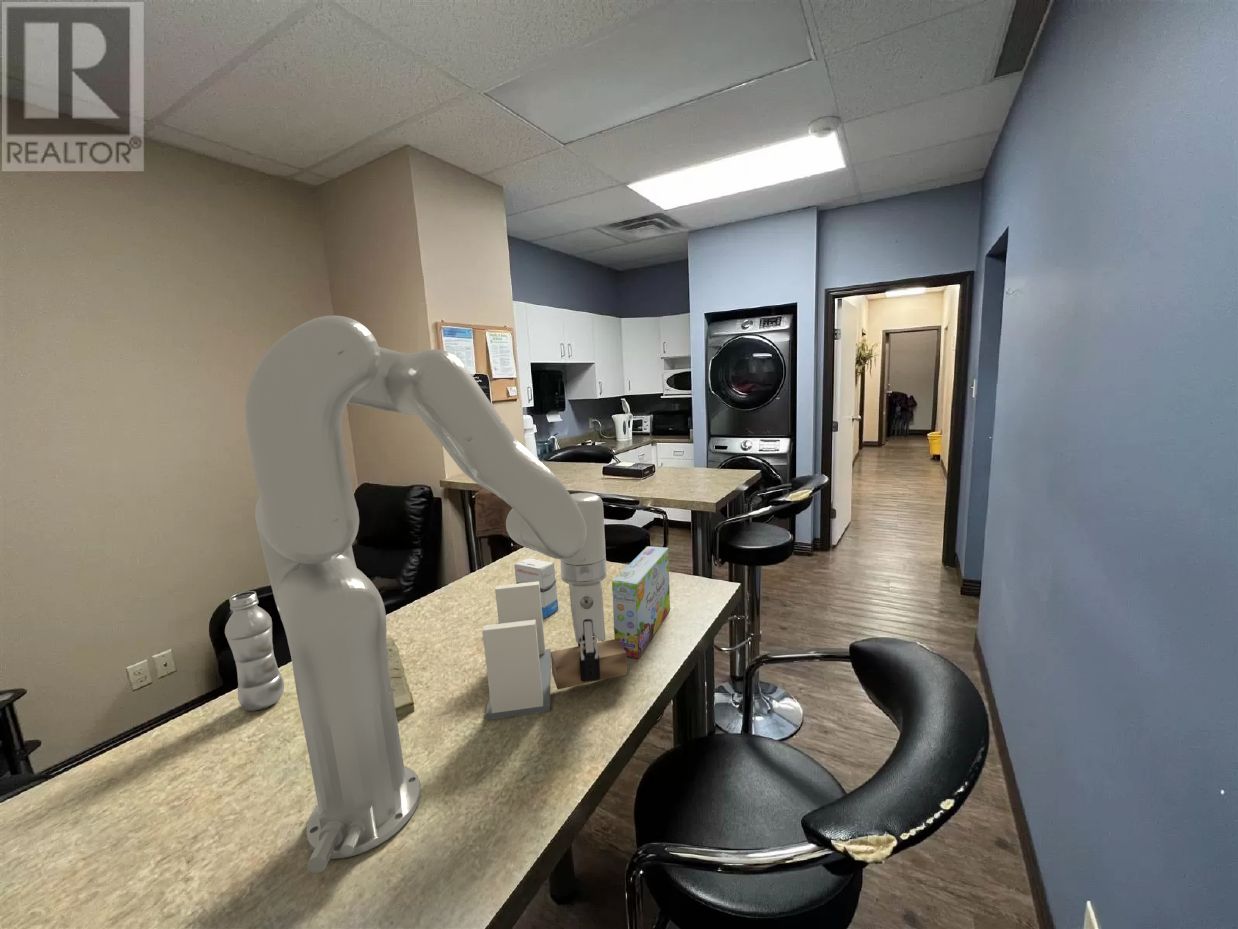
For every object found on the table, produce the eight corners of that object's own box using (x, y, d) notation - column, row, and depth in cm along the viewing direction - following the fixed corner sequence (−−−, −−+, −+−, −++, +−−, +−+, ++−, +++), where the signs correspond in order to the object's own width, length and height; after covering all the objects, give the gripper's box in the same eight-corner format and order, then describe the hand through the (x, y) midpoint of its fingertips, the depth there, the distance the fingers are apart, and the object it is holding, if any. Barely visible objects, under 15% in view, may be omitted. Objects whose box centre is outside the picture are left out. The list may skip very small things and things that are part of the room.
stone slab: (389, 625, 103) (418, 688, 79) (392, 643, 104) (421, 711, 79) (323, 644, 97) (330, 719, 72) (326, 663, 97) (334, 744, 72)
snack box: (641, 660, 89) (637, 583, 87) (614, 655, 91) (608, 581, 89) (672, 609, 109) (669, 545, 106) (648, 606, 111) (645, 544, 108)
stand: (549, 711, 77) (541, 623, 74) (486, 720, 75) (475, 631, 73) (551, 653, 93) (544, 580, 91) (498, 660, 92) (490, 586, 90)
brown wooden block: (618, 659, 86) (617, 638, 86) (627, 674, 82) (626, 652, 81) (552, 673, 83) (550, 651, 82) (557, 689, 78) (556, 667, 77)
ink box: (559, 609, 112) (555, 561, 110) (545, 619, 108) (540, 569, 106) (532, 603, 117) (527, 556, 115) (517, 611, 112) (513, 563, 111)
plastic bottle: (282, 687, 88) (262, 584, 85) (290, 703, 83) (269, 594, 80) (238, 705, 83) (215, 596, 80) (243, 722, 79) (220, 608, 75)
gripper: (611, 586, 71) (617, 697, 74) (601, 550, 88) (605, 642, 91) (561, 590, 71) (568, 703, 73) (560, 553, 87) (566, 646, 90)
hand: (589, 668), depth 82 cm, fingers closed on brown wooden block, 5 cm apart
